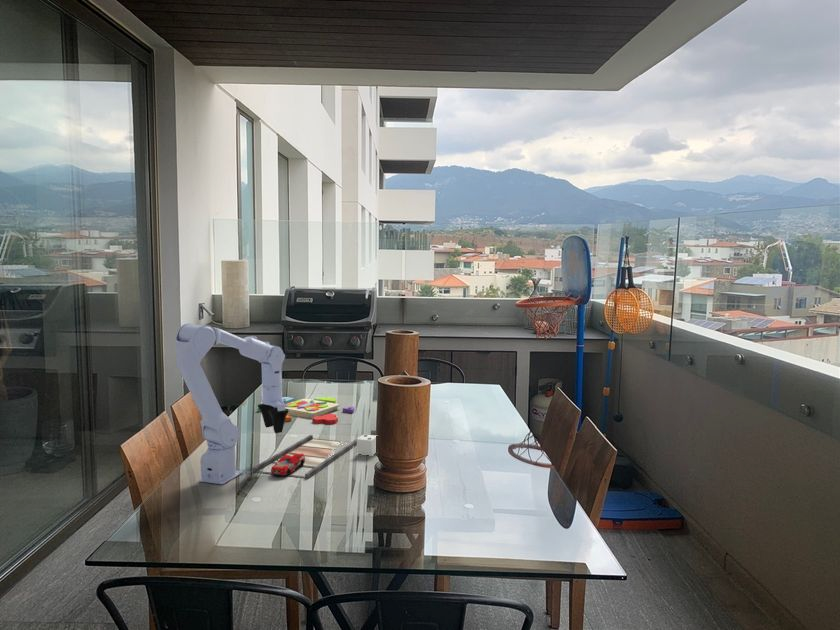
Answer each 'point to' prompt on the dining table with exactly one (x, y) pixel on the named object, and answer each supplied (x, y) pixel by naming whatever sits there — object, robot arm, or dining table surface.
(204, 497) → the dining table surface
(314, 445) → the board
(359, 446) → the die
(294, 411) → the pattern blocks set
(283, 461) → the race car
